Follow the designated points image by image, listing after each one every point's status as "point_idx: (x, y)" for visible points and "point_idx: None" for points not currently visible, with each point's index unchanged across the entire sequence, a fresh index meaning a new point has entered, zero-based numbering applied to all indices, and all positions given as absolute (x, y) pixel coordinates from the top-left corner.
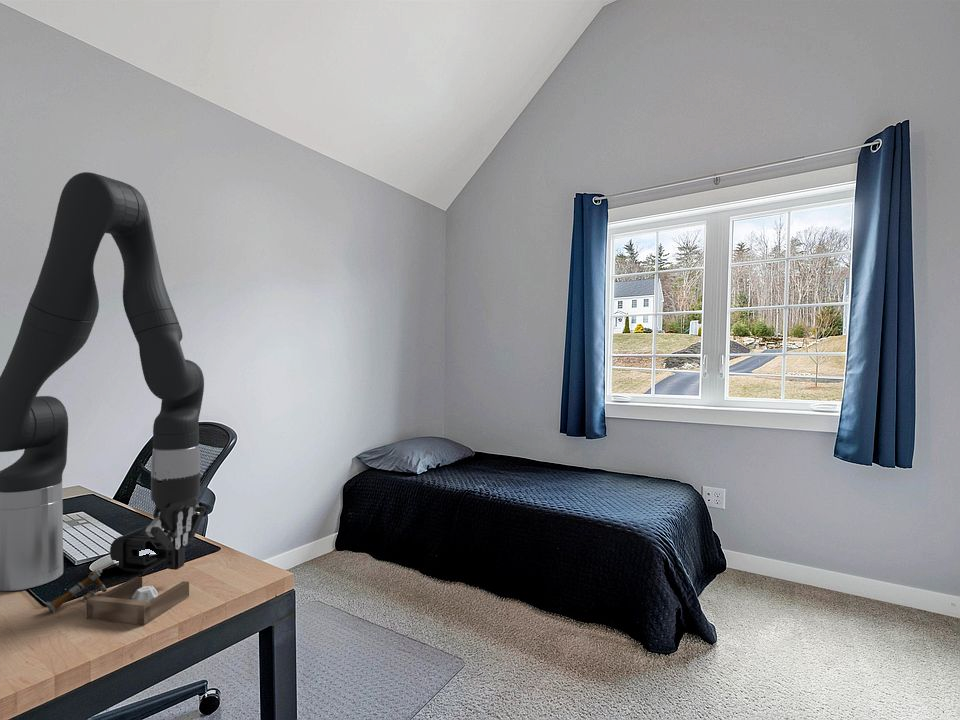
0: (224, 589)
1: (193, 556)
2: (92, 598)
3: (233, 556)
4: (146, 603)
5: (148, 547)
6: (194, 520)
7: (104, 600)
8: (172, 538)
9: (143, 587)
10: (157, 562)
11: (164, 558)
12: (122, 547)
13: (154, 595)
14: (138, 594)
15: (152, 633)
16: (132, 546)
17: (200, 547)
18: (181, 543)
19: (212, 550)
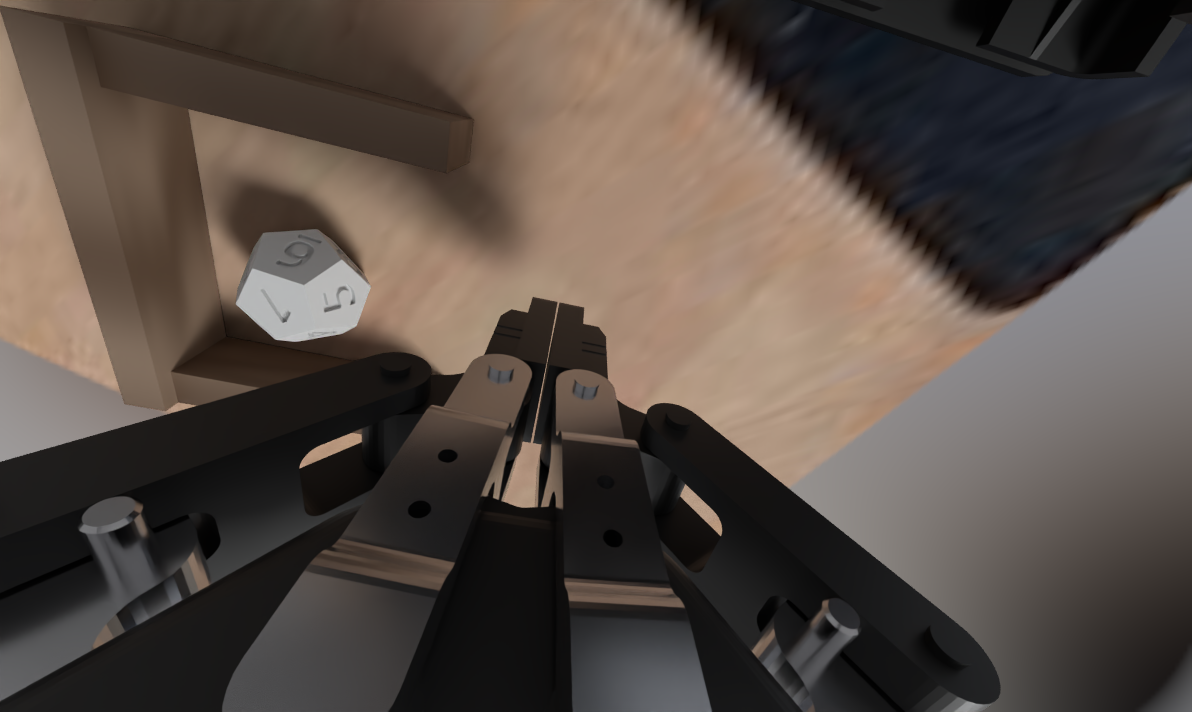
0: (513, 491)
1: (940, 204)
2: (34, 46)
3: (857, 409)
4: (145, 402)
5: None
6: (721, 607)
7: (60, 160)
8: (553, 414)
9: (287, 289)
10: (871, 14)
11: (940, 28)
12: None
13: (311, 337)
14: (240, 290)
15: (166, 411)
16: None
17: (1101, 175)
18: (540, 458)
19: (999, 275)
